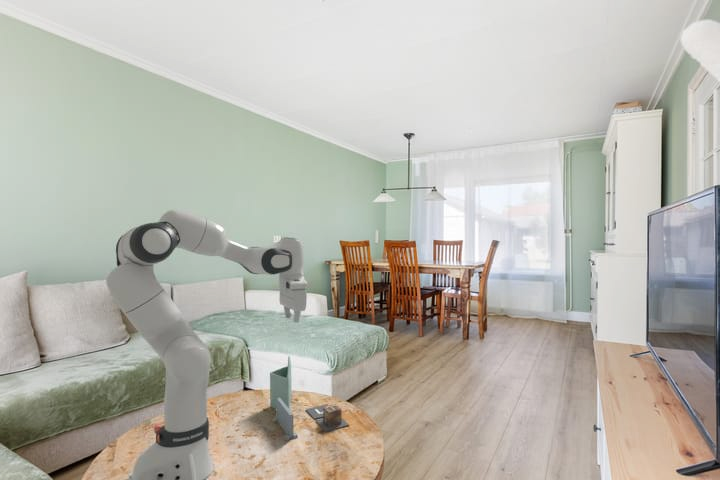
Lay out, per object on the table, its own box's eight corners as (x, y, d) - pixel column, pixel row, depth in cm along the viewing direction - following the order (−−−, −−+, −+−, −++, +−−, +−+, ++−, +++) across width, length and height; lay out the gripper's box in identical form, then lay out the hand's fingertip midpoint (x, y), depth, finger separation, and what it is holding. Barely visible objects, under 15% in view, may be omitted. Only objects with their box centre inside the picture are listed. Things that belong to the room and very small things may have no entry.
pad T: (325, 432, 128) (325, 430, 128) (315, 421, 136) (315, 419, 136) (349, 425, 132) (349, 424, 132) (338, 415, 140) (338, 414, 140)
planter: (272, 398, 157) (272, 351, 157) (291, 396, 158) (291, 350, 158) (267, 415, 141) (267, 363, 141) (288, 414, 142) (288, 362, 142)
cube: (328, 426, 131) (328, 412, 131) (322, 421, 135) (322, 406, 135) (341, 423, 133) (341, 408, 133) (335, 417, 137) (335, 403, 138)
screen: (286, 440, 123) (285, 416, 123) (272, 420, 137) (272, 398, 137) (297, 437, 125) (297, 413, 125) (283, 418, 139) (283, 396, 139)
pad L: (314, 419, 137) (314, 418, 137) (305, 410, 145) (305, 408, 145) (336, 414, 141) (336, 412, 141) (327, 405, 149) (327, 403, 149)
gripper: (275, 280, 144) (275, 316, 143) (291, 285, 126) (292, 326, 125) (291, 279, 147) (291, 314, 146) (309, 284, 129) (310, 324, 128)
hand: (292, 320), depth 136 cm, fingers open, 8 cm apart
